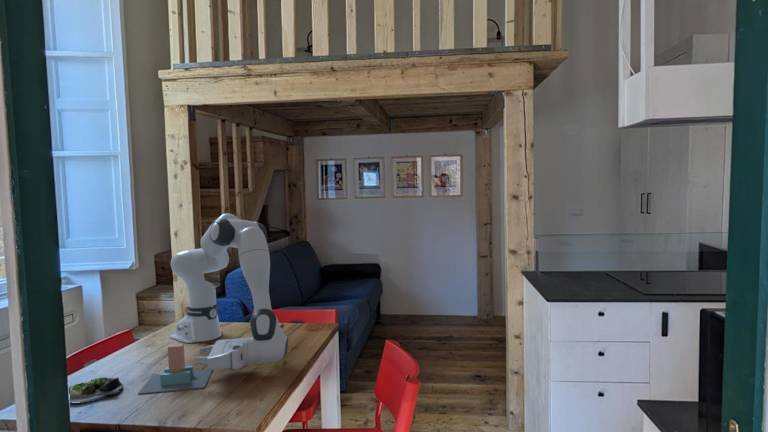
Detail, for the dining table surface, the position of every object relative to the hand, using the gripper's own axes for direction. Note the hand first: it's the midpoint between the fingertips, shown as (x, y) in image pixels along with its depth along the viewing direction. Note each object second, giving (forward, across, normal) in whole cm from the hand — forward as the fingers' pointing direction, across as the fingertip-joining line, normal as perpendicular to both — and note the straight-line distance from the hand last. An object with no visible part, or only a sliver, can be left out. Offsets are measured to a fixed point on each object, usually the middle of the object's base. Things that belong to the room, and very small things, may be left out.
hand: (197, 355), depth 163 cm
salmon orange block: (+7, 0, +8) cm, 11 cm away
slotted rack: (+7, 0, +8) cm, 11 cm away
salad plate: (+31, +3, +9) cm, 33 cm away
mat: (+7, 0, +8) cm, 11 cm away
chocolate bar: (-20, -52, +9) cm, 57 cm away
